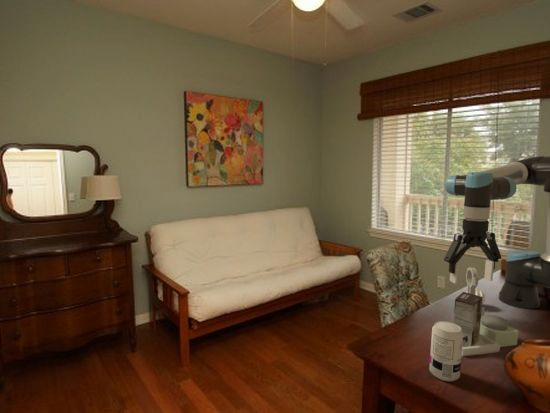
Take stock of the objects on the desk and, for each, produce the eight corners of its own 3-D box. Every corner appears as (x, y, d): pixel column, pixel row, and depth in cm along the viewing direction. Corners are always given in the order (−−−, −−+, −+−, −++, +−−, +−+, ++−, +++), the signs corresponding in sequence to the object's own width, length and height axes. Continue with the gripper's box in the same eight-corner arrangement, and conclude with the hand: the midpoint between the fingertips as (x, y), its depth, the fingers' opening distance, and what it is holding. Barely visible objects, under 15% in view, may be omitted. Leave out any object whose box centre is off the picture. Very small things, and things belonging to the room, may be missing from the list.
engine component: (460, 322, 136) (488, 324, 134) (464, 271, 133) (492, 273, 131) (451, 310, 147) (477, 312, 145) (455, 263, 144) (482, 265, 142)
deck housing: (490, 328, 131) (491, 311, 130) (523, 348, 117) (525, 329, 116) (434, 335, 126) (435, 316, 125) (462, 356, 112) (464, 336, 112)
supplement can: (423, 366, 107) (427, 320, 105) (449, 365, 108) (453, 319, 106) (438, 383, 99) (442, 334, 97) (465, 382, 100) (470, 332, 98)
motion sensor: (459, 303, 154) (461, 286, 153) (473, 301, 156) (474, 284, 155) (474, 310, 146) (476, 293, 145) (488, 308, 148) (490, 291, 147)
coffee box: (459, 333, 126) (463, 291, 124) (479, 340, 122) (483, 296, 119) (450, 343, 120) (454, 298, 117) (471, 350, 115) (475, 304, 113)
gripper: (498, 215, 121) (493, 274, 124) (434, 218, 116) (431, 279, 119) (517, 219, 113) (511, 281, 116) (450, 222, 109) (446, 287, 112)
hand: (471, 280), depth 118 cm, fingers open, 13 cm apart
